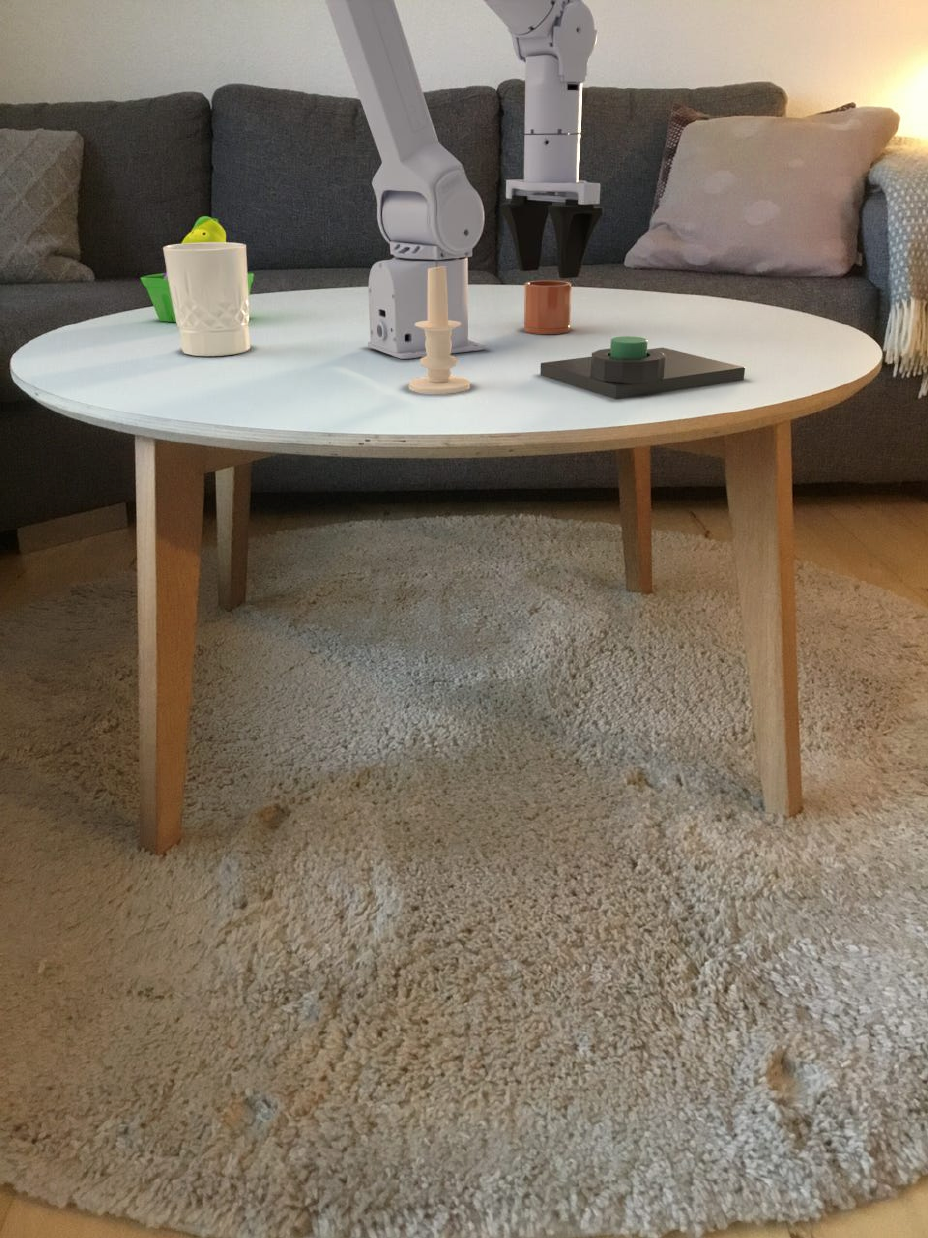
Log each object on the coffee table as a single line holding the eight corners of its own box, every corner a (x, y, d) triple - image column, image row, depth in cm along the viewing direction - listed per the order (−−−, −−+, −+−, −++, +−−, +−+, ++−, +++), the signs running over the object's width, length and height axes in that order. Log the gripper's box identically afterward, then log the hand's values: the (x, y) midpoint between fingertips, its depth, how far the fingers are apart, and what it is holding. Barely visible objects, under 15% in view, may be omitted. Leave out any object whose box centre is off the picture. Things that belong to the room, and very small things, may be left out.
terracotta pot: (540, 335, 109) (541, 287, 107) (515, 329, 113) (516, 282, 111) (578, 331, 111) (580, 284, 109) (552, 325, 115) (553, 279, 113)
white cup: (271, 349, 103) (262, 245, 98) (205, 361, 97) (192, 251, 93) (226, 340, 107) (215, 240, 103) (161, 351, 102) (147, 246, 98)
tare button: (624, 363, 82) (626, 343, 81) (602, 357, 84) (603, 338, 84) (653, 359, 83) (655, 340, 83) (630, 353, 86) (632, 334, 85)
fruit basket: (142, 322, 119) (128, 219, 114) (188, 311, 126) (177, 214, 121) (224, 327, 115) (213, 221, 110) (266, 316, 122) (258, 215, 117)
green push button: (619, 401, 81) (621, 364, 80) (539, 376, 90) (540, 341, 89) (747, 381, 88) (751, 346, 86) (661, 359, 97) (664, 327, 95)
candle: (396, 387, 87) (392, 259, 82) (445, 378, 89) (443, 254, 85) (432, 398, 83) (429, 264, 78) (482, 389, 86) (482, 259, 81)
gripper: (627, 133, 100) (619, 278, 105) (544, 134, 111) (541, 264, 117) (568, 134, 96) (564, 282, 102) (489, 135, 108) (489, 268, 114)
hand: (548, 273), depth 109 cm, fingers open, 7 cm apart
